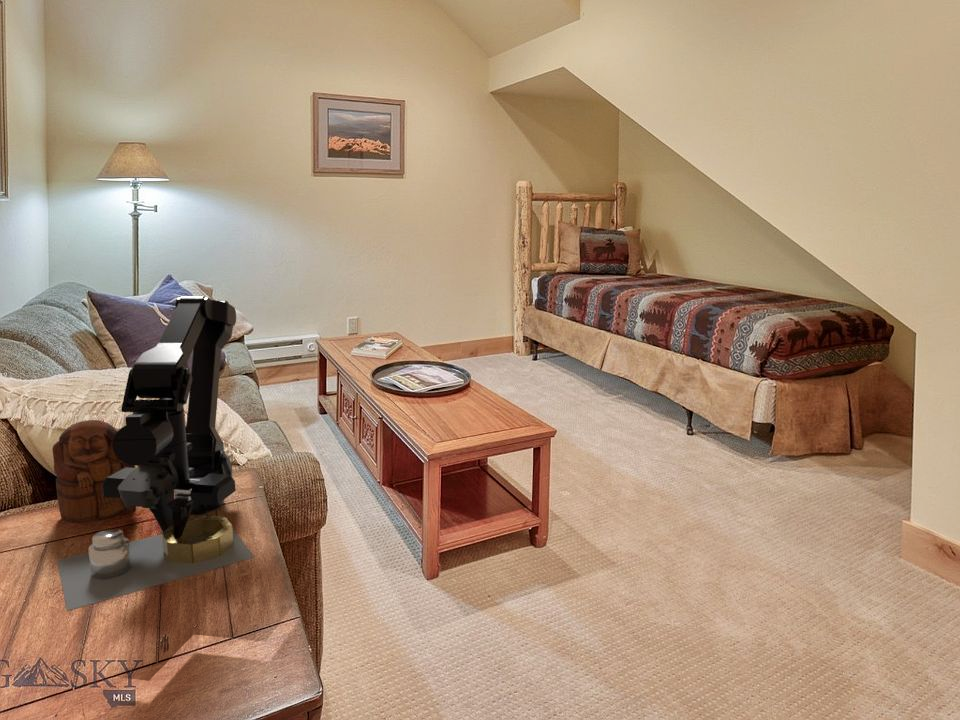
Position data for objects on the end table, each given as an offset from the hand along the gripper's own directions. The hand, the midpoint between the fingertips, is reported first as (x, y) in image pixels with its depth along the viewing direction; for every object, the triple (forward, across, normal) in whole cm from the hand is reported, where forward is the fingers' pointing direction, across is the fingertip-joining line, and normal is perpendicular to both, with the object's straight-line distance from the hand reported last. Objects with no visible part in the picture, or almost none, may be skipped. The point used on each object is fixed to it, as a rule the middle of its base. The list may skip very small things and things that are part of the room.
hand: (174, 537), depth 99 cm
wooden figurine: (+3, -20, +8) cm, 21 cm away
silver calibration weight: (+1, -4, -8) cm, 10 cm away
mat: (+3, 0, -4) cm, 5 cm away
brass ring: (+1, +4, 0) cm, 4 cm away
